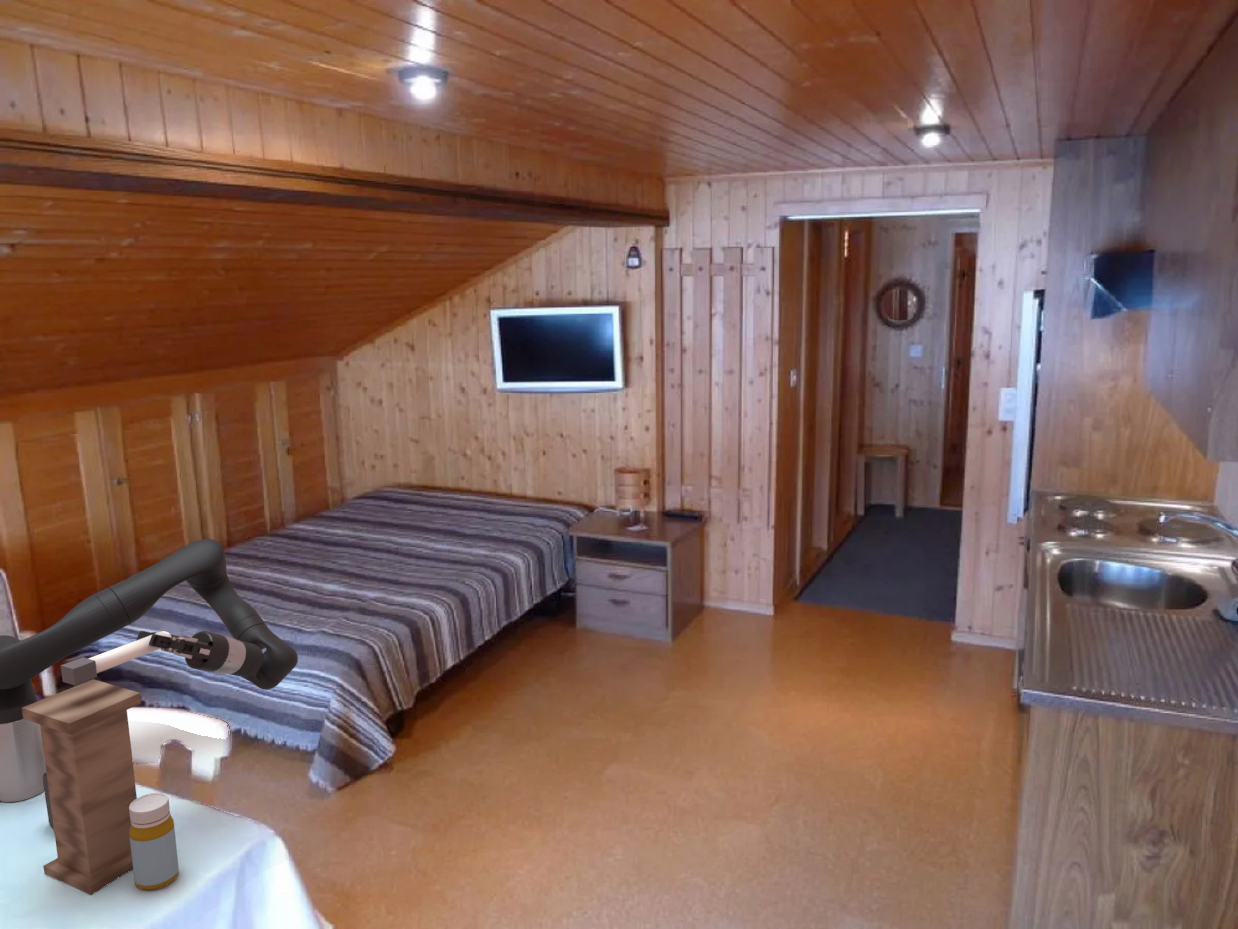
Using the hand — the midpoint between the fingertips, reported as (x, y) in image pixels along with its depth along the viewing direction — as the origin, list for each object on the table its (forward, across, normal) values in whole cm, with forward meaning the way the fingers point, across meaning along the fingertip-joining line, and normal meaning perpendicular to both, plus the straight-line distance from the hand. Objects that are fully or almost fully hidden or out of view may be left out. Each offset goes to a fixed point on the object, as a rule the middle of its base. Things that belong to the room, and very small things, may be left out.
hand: (145, 638), depth 170 cm
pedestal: (-8, 0, -40) cm, 41 cm away
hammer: (+3, 0, -5) cm, 6 cm away
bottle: (-10, -12, -40) cm, 43 cm away
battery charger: (-12, +18, -38) cm, 44 cm away
